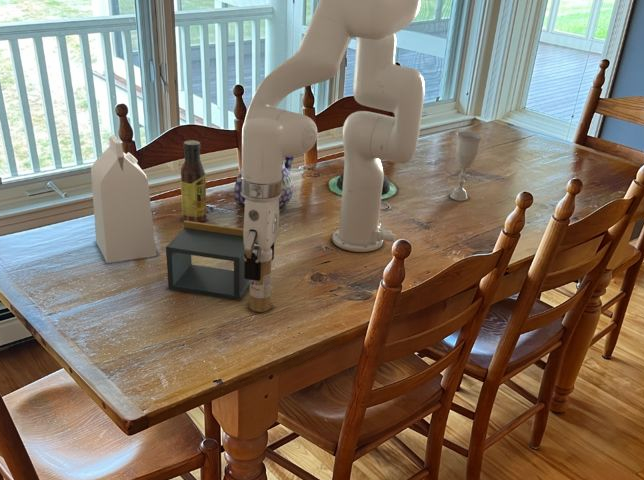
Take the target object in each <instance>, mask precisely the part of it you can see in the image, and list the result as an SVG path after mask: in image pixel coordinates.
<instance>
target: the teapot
mask: <svg viewBox="0 0 644 480" xmlns="http://www.w3.org/2000/svg"><path fill="white" fill-rule="evenodd" d="M294 158H295V156H289V157H284V158H283V160H282V182H281V197H280V198H279V212H281V211H282V210H283V208H284V207H286V206H287V205H288V204H290V202H291V200H292V198H293V194H294V179H293V175H292V173H291V172H292V171H291V170H292V164H293V160H294ZM233 189H234V190H233V197H234V201H235V202H236V204H237V205H239V206H240V207H245V200H246V198H244V197H243V196H242V194H241V191H242V168H241V169H240V170H239V171H238V174H237V178H236V180H235V184H234V188H233Z"/></svg>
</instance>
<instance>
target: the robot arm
mask: <svg viewBox="0 0 644 480" xmlns="http://www.w3.org/2000/svg"><path fill="white" fill-rule="evenodd" d="M420 7H421V0H319V1H318V2H317V5H316V7H315V10H314V12H313V14H312V16H311V19H310V21H309V23H308V25H307V28H306V30H305V32H304V35H303V37H302V39H301V41H300V44H299V46H298V48H297V50H296V52H295V53H294V54H293V55H292V56H291V57H289V58H288V59H286V60H285V61H283V62H281V64H279V65H278V66H277V67H275V68H274V69H273V70H272V71H271V72H270V73H269V74H267V75H266V76H265V77H264V78H263V79H262V80H261V82H260V83H259V85H258V87H257V88H256V90H255V92H254V94H253V96H252V99H251V101H250V102H249V103H250V104H249V105H248V108H247V111H246V114H245V117H244V122H243V125H242V128H241V169H242V191H241V194H242V196H243V197H244V198H246V200H245V206H244V213H243V229H244V230H243V240H244V246H245V248H244V250H245V254H244V255H245V258H244V261H245V263H244V278H245V279H249V280H255V281H260V279H261V261H259V260H260V256H261V251H262V250H264V251H267V250H269V249H270V248H271V249H272V260H271V262H272V261H273V260H274V259H275V242H276V240H277V239H278V237H279V235H280V211H279V198H280V197H281V182H282V161H283V160H284V159H285V157H289V156H293V157H298V156H302V155H304V154H306V153H308V152H309V151H311V149H313V147H314V146H315V145H316V142H317V139H318V126H317V124H316V123H315V121H314V119H312V118H311V117H309V116H308V115H306V114H302V113H298V112H294V111H289V110H287V109H282V108H278V106H279V105H280V103H281V102H282V101H283V100H284V99H285V98H286V97H287V96H289V95H290V94H292V93H294V92H295V91H297V90H300V89H302V88H306V87H311V86H313V85H316V84H320V83H323V82H326V81H328V80H331V79H333V78H334V77H335V76H336V75H337V72H338V71H339V69H340V66H341V63H342V61H343V59H344V57H345V54H346V52H347V50H348V47H349V45H350V43H351V41H352V39H353V38H355V39H356V41H355V42H356V43H355V58H354V71H353V85H352V94H353V98H354V100H355V102H356V103H358V104H359V105H361V106H364V107H368V108H370V109H371V108H372V109H375V110H376V109H377V110H381V111H385V112H390V113H393V114H394V116H390V115H386V114H381V113H379V112H378V113H377V112H372V111H368V110H367V111H366V110H357V111H355V112H352V113H350V114H349V115H348V116H347V118H346V119H345V120H344V122H343V126H342V145H343V157H344V158H343V159H344V161H343V163H344V164H343V173H344V177H343V190H342V195H341V203H340V204H341V205H340V217H339V228H338V229H337V230H336V231H334V233H332V238H331V239H332V242H333V244H334V245H335V246H336V247H338V248H340V249H342V250H345V251H349V252H356V253H368V252H373V251H376V250H378V249H379V248H381V247H382V246H383V245H384V241H386V242H390V243H395V240H396V234H395V233H392V232H393V231H392V230H389V229H383V228H381V225H382V224H381V222H379V221H380V214H381V203H382V199H381V196H382V187H383V180H384V174H385V172H384V169H383V168H384V167H383V164H382V162H380V159H381V160H382V161H386V162H390V163H394V164H400V165H401V164H403V165H404V164H407V163H409V162H410V161H412V159H413V157H414V156H415V154H416V151H417V149H418V144H419V138H420V132H421V124H422V118H423V117H422V116H423V109H424V101H425V93H426V91H425V90H426V87H425V79H424V77H423V75H422V73H421V72H420V71H419V70H417V69H415V68H412V67H409V66H402V65H398V64H396V61H395V60H396V49H397V36H396V33H398V32H400V31H402V30H404V29H406V28H408V27H409V26H410V25H411V24H412V23H413V22H414V21H415V20H416V17H417V16H418V14H419V12H420ZM383 172H384V173H383ZM255 245H259V246H255ZM253 250H256V251H257V255H255V253H253Z"/></svg>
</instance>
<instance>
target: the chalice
mask: <svg viewBox="0 0 644 480" xmlns="http://www.w3.org/2000/svg"><path fill="white" fill-rule="evenodd" d="M456 137H457V138H456V139H457V141H456V145H455V146H456V147H455V157H456V161H457V164H458V167H460V169H461V172H460V173H459V177H460V178H459V179H458V184H459V185H458V187H456V188H454V189H453V191H452V192H451V193H450V195H449V197H450V199H452V200H455V201H460V202H462V201H467V200H468V194H467V191H466V189H465V188H464V187H463V186H464V183H465V182H466V181H465V177H466V169H469V168H470V167H471V166H472V165H473V163H474V162H475V160H476V158H477V157H478V155H479V149H480V146H481V145H480V143H481V141H482V139H483V138H484V136H483V134H481V133H479V132H474V131H465V130H463V131H458V132H456Z"/></svg>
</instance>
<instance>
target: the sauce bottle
mask: <svg viewBox="0 0 644 480" xmlns="http://www.w3.org/2000/svg"><path fill="white" fill-rule="evenodd" d="M183 150H184V162H183V164H182V165H181V167H180V198H181V199H180V200H181V214H182V219H183V221H192V222H199V223H202V222H204V221H205V220H206V217H207V185H206V183H207V182H206V181H207V180H206V172H205V169H204V166H203V164H202V162H201V151H200V150H201V142H200V141H198V140H185V141H184V142H183Z"/></svg>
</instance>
